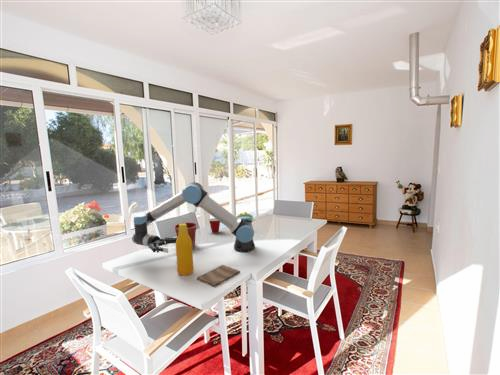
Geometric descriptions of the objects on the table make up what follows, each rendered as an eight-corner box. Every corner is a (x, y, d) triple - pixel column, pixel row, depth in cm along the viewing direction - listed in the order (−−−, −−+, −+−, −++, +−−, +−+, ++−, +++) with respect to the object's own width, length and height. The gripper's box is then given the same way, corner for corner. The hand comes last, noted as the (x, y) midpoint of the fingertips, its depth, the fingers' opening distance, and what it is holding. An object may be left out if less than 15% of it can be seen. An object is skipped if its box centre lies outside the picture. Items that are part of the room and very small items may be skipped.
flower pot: (192, 250, 188) (191, 229, 186) (171, 249, 192) (169, 228, 189) (201, 242, 204) (200, 222, 202) (181, 242, 208) (180, 222, 205)
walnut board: (222, 266, 161) (222, 264, 161) (239, 272, 153) (239, 270, 153) (197, 279, 146) (196, 277, 146) (214, 287, 137) (214, 284, 137)
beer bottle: (187, 267, 162) (184, 221, 158) (197, 271, 156) (194, 223, 152) (174, 272, 155) (171, 224, 151) (184, 277, 149) (180, 227, 145)
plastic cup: (222, 230, 236) (221, 217, 234) (221, 234, 225) (220, 220, 223) (209, 230, 235) (209, 217, 234) (208, 234, 225) (207, 220, 223)
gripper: (167, 240, 178) (191, 245, 167) (135, 253, 156) (160, 260, 146) (166, 230, 177) (190, 234, 166) (134, 241, 155) (159, 247, 145)
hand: (176, 246), depth 156 cm, fingers open, 13 cm apart
